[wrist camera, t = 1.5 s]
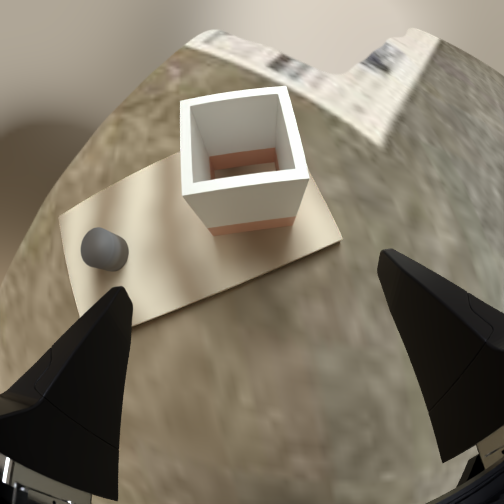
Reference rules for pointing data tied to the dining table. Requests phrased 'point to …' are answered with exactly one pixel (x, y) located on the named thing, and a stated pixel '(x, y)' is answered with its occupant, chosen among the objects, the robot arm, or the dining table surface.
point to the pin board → (176, 242)
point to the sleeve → (242, 159)
